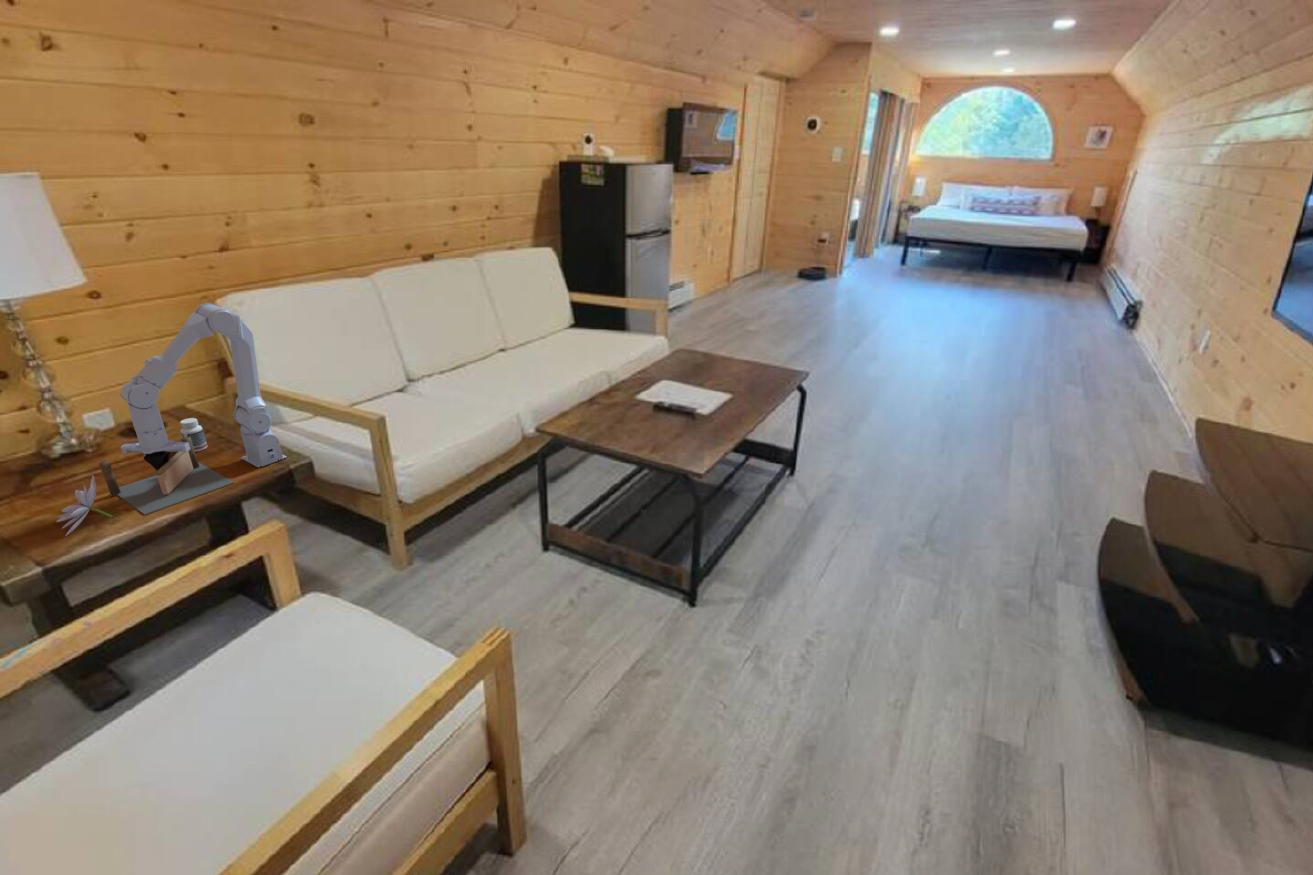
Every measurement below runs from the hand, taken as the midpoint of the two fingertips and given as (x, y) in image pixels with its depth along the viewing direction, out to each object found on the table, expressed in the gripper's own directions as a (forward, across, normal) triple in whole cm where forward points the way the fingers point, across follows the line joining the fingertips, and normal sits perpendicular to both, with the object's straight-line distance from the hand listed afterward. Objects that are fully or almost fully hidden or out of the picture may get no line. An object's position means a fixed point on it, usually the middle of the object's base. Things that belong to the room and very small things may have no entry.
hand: (165, 477), depth 162 cm
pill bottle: (+3, -4, +24) cm, 25 cm away
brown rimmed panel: (+2, +2, +2) cm, 3 cm away
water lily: (+4, -10, -15) cm, 19 cm away
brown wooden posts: (+3, -5, +4) cm, 7 cm away
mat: (+3, +1, 0) cm, 3 cm away
